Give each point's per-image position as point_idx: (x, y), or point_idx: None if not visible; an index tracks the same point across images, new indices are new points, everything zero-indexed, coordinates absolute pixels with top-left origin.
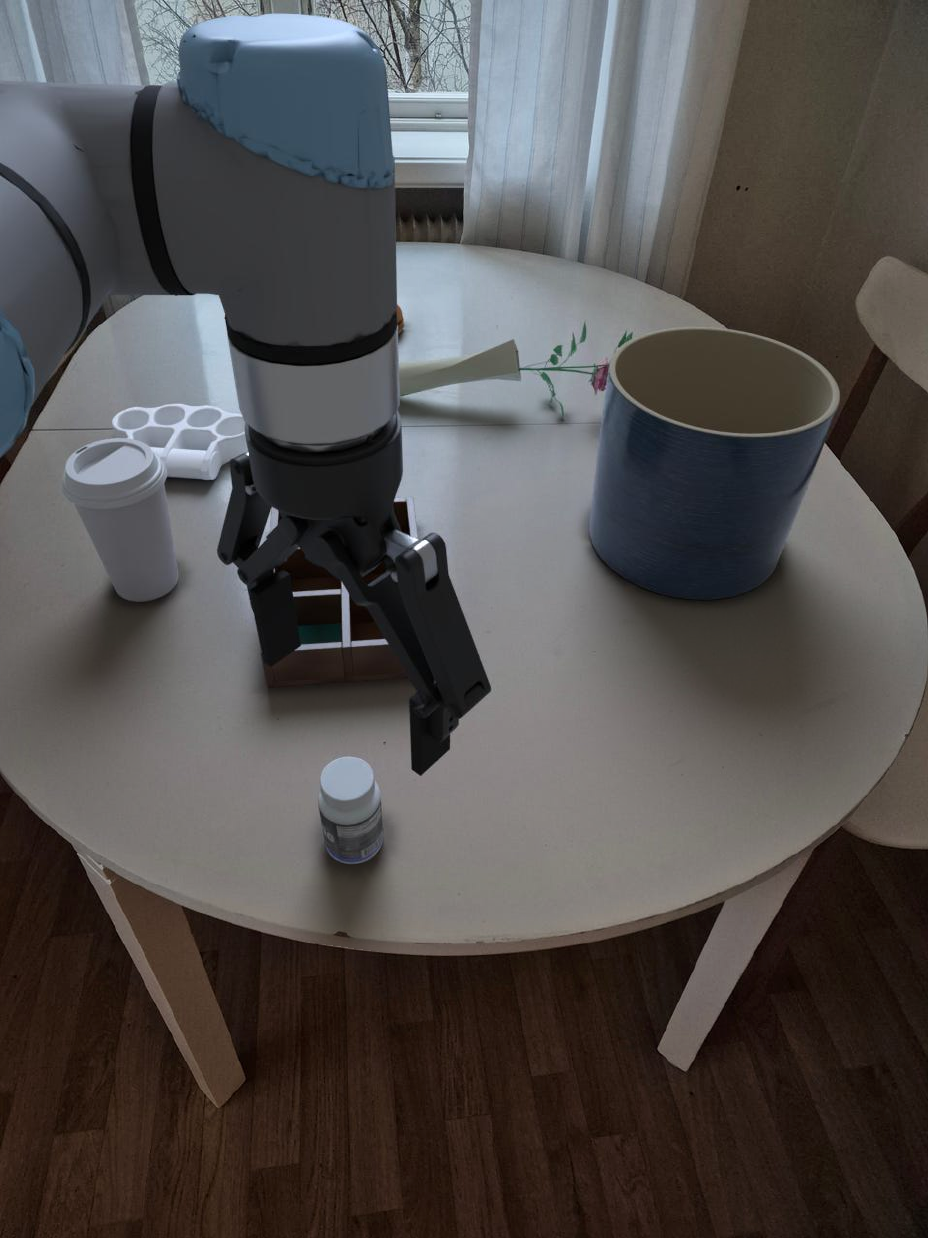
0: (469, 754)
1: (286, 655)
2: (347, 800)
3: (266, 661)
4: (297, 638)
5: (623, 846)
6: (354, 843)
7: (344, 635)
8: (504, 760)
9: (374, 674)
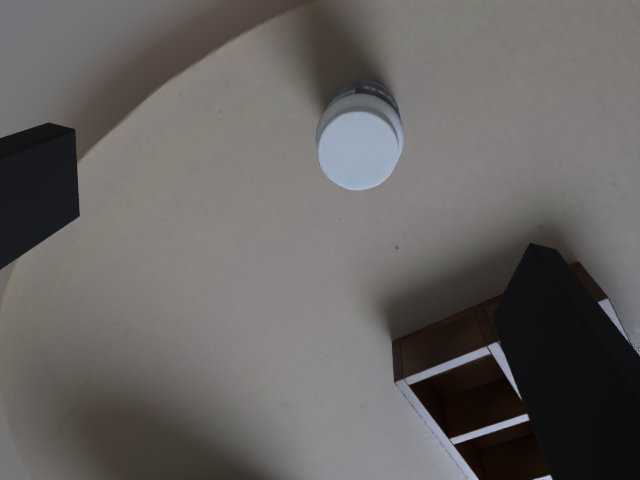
0: (302, 270)
1: (508, 284)
2: (335, 117)
3: (547, 251)
4: (500, 331)
5: (116, 235)
6: (337, 95)
7: (503, 358)
8: (266, 277)
9: (451, 322)
